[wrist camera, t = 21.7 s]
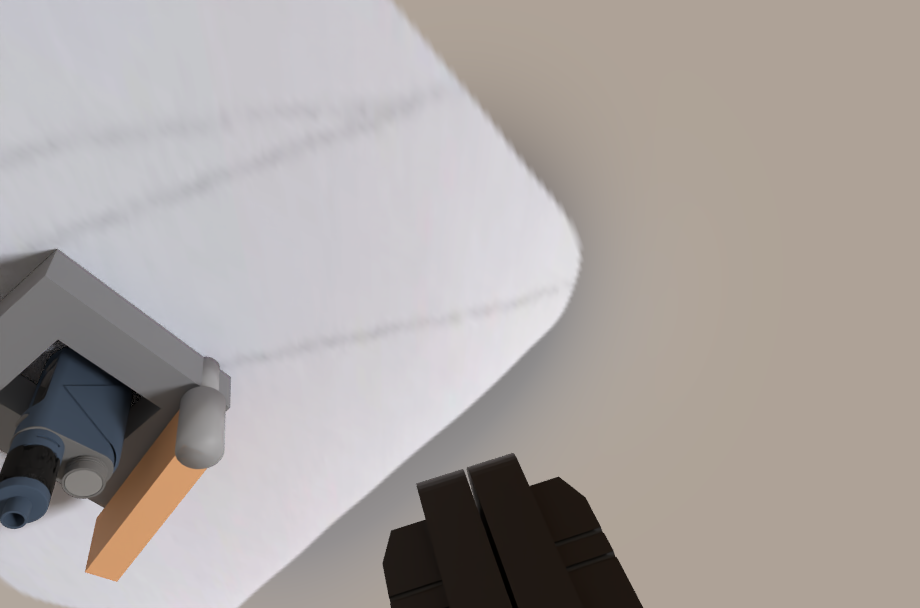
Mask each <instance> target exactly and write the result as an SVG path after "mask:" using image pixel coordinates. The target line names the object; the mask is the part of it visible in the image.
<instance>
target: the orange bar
mask: <svg viewBox="0 0 920 608" xmlns="http://www.w3.org/2000/svg"><path fill="white" fill-rule="evenodd" d="M225 411H226V401H225V398H224V396H223V395H222V393H221V392H220V391H218V390H216V389H214V388H212V387H207V386H200V387H195V388H192V389H190V390H188V391H187V392H186V393H185V394H184V395H183V396H182V398H181V401H180V409H179V410H178V412H177V413H176V414H175V416H174V417H173V418H172V420H171V421H170V422H169V423H168V425H167V426H166V427H165V429H164V430H163V431H162V433H161V434H160V435H159V437H158V438H157V439H156V441H155V442H154V443H153V445H152V446H151V447H150V449H149V450H148V451H147V452H146V454H145V455H144V456H143V458H142V459H141V460H140V462H139V463H138V464H137V466H136V467H135V468H134V470H133V471H132V472H131V474H130V475H129V476H128V478H127V479H126V480H125V481H124V483H123V484H122V485H121V487H120V488H119V489H118V491H117V492H116V493H115V495H114V496H113V497H112V499H111V500H110V501H109V503H108V504H107V505H106V507H105V508H104V509H103V510H102V512H101V513H100V514H99V516H98V517H97V519H96V524H95V528H94V533H93V537H92V542H91V547H90V551H89V556H88V561H87V565H86V570H85V572H87V573H90V574H93V575H97V576H100V577H103V578H106V579H110V580H113V581H116V582H117V581H118V580H119V578H120V577H121V576H122V575H123V573H124V572H125V571H126V570H127V568H128V567H129V566H130V565H131V563H132V562H133V561H134V560H135V558H136V557H137V556H138V555H139V553H140V552H141V551H142V550H143V548H144V547H145V546H146V544H147V543H148V542H149V541H150V539H151V538H152V537H153V536H154V534H155V533H156V532H157V531H158V529H159V528H160V527H161V526H162V524H163V523H164V522H165V521H166V519H167V518H168V517H169V516H170V514H171V513H172V512H173V510H174V509H175V508H176V507H177V505H178V504H179V503H180V502H181V500H182V499H183V498H184V497H185V495H186V494H187V493H188V492H189V490H190V489H191V488H192V487H193V485H194V484H195V483H196V482H197V480H198V479H199V478H200V477H201V475H202V474H203V473H204V471H205V470H206V469H207V468H209V467H212V466H214V465H215V464H217V463H218V462H219V461H220V460H221V459H222V457H223V455H224V443H225Z"/></svg>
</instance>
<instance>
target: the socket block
mask: <svg viewBox="0 0 920 608" xmlns="http://www.w3.org/2000/svg"><path fill="white" fill-rule="evenodd" d="M57 340H59V341H61V342H62V343H64V344H65V345H67V346H68V347H70V348H71V349H73V350H74V351H76V352H77V353H79V354H80V355H82V356H83V357H85V358H86V359H88V360H89V361H91V362H92V363H94V364H95V365H97V366H98V367H100V368H101V369H103V370H104V371H106V372H107V373H109V374H110V375H112V376H113V377H115V378H116V379H118V380H119V381H121V382H122V383H124V384H125V385H127V386H128V387H130V388H131V389H133V390H134V391H136V392H137V393H139V394H140V395H142V396H143V397H142V398H141V399H140V400H139V401H138V402H136V403H135V404H134V405H133V406H132V407H131V408H130V412H129V417H128V422H127V427H126V432H125V437H124V442H123V447H122V452H121V457H120V461H119V465H118V467H117V469H116V470H115V472H114V473H113V474H112V476H111V478H110V479H109V480H108V481H107V482H106V484H105V488H104V490H103V491H102V492H101V493H100V494H98V495H97V496H95V497H91V498H88V499H89V500H91V501H93V502H95V503H97V504H98V505H100V506H102V507H104V508H105V507H106V505H107V504H108V503H109V501H110V500H111V499H112V497H113V496H114V495H115V493H116V492H117V491H118V489H119V488H120V487H121V485H122V484H123V483H124V481H125V480H126V479H127V478H128V476H129V475H130V474H131V472H132V471H133V470H134V468H135V467H136V466H137V464H138V463H139V462H140V460H141V459H142V458H143V456H144V455H145V454H146V452H147V451H148V450H149V449H150V447H151V446H152V445H153V443H154V442H155V441H156V439H157V438H158V437H159V435H160V434H161V433H162V431H163V430H164V429H165V427H166V426H167V425H168V423H169V422H170V421H171V420H172V418H173V417H174V416H175V414H176V413H177V412H178V410H179V409H180V401H181V398H182V396H183V395H184V394H185V393H186V392H187V391H188V390H190V389H192V388H195V387H200V386H207V387H212V388H214V389H216V390H218V391H220V392H221V393H222V395H223V396H224V398H225V401H226V411H227V410H228V409H229V408H230V390H231V377H230V376H228V375H227V374H226V373H224V372H223V371H222V370H220V366H219V363H218V362H217V361H216V360H215V359H213V358H210V357H203V356H201V355H200V354H199V353H197V352H196V351H195V350H193V349H192V348H191V347H189V346H188V345H187V344H185V343H184V342H182V341H181V340H180V339H178V338H177V337H176V336H174V335H173V334H172V333H170V332H169V331H168V330H166V329H165V328H164V327H162V326H161V325H160V324H158V323H157V322H155V321H154V320H153V319H151V318H150V317H149V316H147V315H146V314H145V313H143V312H142V311H141V310H139V309H138V308H137V307H135V306H134V305H132V304H131V303H130V302H128V301H127V300H126V299H124V298H123V297H122V296H120V295H119V294H118V293H116V292H115V291H114V290H112V289H111V288H110V287H108V286H107V285H105V284H104V283H103V282H101V281H100V280H99V279H97V278H96V277H95V276H93V275H92V274H91V273H89V272H88V271H87V270H85V269H84V268H82V267H81V266H80V265H78V264H77V263H76V262H74V261H73V260H72V259H70V258H69V257H68V256H66V255H65V254H64V253H62V252H61V251H60V250H58V249H57V250H56V251H55V252H53V253H52V254H51V255H50V256H49V257H48V258H47V259H46V260H45V261H44V262H43V263H41V264H40V265H39V266H38V267H37V268H36V269H35V270H34V271H33V272H32V273H31V274H30V275H28V276H27V277H26V278H25V279H24V280H23V281H22V282H21V283H20V284H19V285H18V286H16V287H15V288H14V289H13V290H12V291H11V292H10V293H9V294H8V295H7V296H6V297H5V298H3V299H2V300H1V301H0V450H2V451H3V452H5V453H7V454H8V451H9V445H10V441H11V439H12V437H13V435H14V433H15V430H16V426H15V425H16V423H17V421H18V420H19V419H20V417H21V416H22V414H23V413H24V412H25V411H26V410H28V408H29V406H30V403H31V400H32V398H33V395H34V393H35V390H36V387H37V385H36V384H35V383H33V382H31V381H30V380H28V379H27V378H25V377H23V376H22V375H20V373H21V372H22V371H23V370H24V369H25V368H27V367H28V366H29V365H30V364H31V363H32V362H33V361H34V360H35V359H37V358H38V357H39V356H40V355H41V354H42V353H43V352H44V351H46V350H47V349H48V348H49V347H50V346H51V345H52V344H53V343H55V342H56V341H57ZM56 481H57V482H59V483H61V481H62V480H61V479H58V478H56Z"/></svg>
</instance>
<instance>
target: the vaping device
mask: <svg viewBox="0 0 920 608" xmlns="http://www.w3.org/2000/svg"><path fill="white" fill-rule="evenodd" d="M131 402H132V391H131V388H130V387H128V386H127V385H125V384H124V383H122V382H121V381H119V380H118V379H116V378H115V377H113V376H112V375H110V374H109V373H107V372H106V371H104V370H103V369H101V368H100V367H98V366H97V365H95V364H94V363H92V362H91V361H89V360H88V359H86V358H85V357H83V356H82V355H80V354H79V353H77V352H76V351H74V350H73V349H71V348H65V347H63V349H62V350H59V351H57V352H56V353H54V354H53V355H52V356H51V357H50V358H49V359H48V361H47V362H46V365H45V370H43V371H42V374H41V377H40V379H39V382H38V385H37V387H36V390H35V393H34V395H33V398H32V400H31V403H30V406H29V408H28V410H26V411H25V412H24V413H23V414H22V416H21V417H20V419H19V420H18V421H17V423H16V425H15V426H16V430H15V433H14V435H13V437H12V439H11V441H10V445H9V451H8V454H7V457H6V459H5V462H4V464H3V467H2V470H1V472H0V521H1V523H2V525H3V526H5V527H7V528H11V529H17V528H21V527H23V526H24V525H25V524H26V523H30V522H33V521H36V520H38V519H39V518H41V517H42V516H43V515H44V514H45V513H46V511H47V509H48V506H49V502H50V499H51V495H52V492H53V489H54V485H55V482H56V478H58V479H61V480H62V481H61V485H62V488H63V490H64V491H65V492H66V493H67V494H68V495H70V496H72V497H75V498H82V499H86V498H91V497H95V496H97V495H98V494H100V493H101V492H102V491H103V490H104V488H105V484H106V482H107V481H108V480H109V479H110V478H111V476H112V474H113V473H114V472H115V470H116V469H117V467H118V465H119V461H120V457H121V452H122V447H123V442H124V437H125V432H126V427H127V422H128V417H129V412H130V407H131Z"/></svg>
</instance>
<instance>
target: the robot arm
mask: <svg viewBox="0 0 920 608" xmlns="http://www.w3.org/2000/svg"><path fill="white" fill-rule="evenodd" d="M467 472H468V477H469V481H470V485H471V489H472V492H473V495H472V492H471V489H470V486H469V483H468V481H467V478H466V475H465V472H464V470H463V469H461V470H458V471H455V472H452V473H449V474H445V475H442V476H439V477H436V478H433V479H429V480H426V481H423V482H420V483H417V489H418V493H419V496H420V500H421V504H422V508H423V511H424V515H425V519H426V520H423V521H420V522H417V523H413V524H411V525H407V526H404V527H401V528H398V529H395V530H392V531H391V533H390V537H389V541H388V545H387V549H386V552H385V556H384V560H383V569H384V574H385V579H386V584H387V589H388V594H389V599H390V602H391V603H390V605H391V608H643V606H642V605H641V603H640V601H639V599H638V597H637V595H636V593H635V591H634V589H633V587H632V585H631V583H630V582H629V580H628V578H627V576H626V574H625V572H624V570H623V568H622V566H621V564H620V562H619V561H618V559H617V557H615V555H614V552H613V549H612V547H611V545H610V543H609V542H608V540H607V538H606V536H605V534H604V533H603V532H602V529H601V526H600V524H599V522H598V521H597V519H596V517H595V515H594V513H593V511H592V510H591V507H590V505H589V503H588V501H587V500H586V498H585V497H584V496H583V495H581V494H580V493H579V492H578V491H576V490H575V489H574V488H573V487H571V486H570V485H569V484H567V483H566V482H565V481H564V480H562V479H561V478H560V477H556V478H553V479H550V480H547V481H544V482H541V483H538V484H535V485H531V486H529V484H528V482H527V480H526V478H525V475H524V473H523V471H522V469H521V467H520V464H519V462H518V460H517V458H516V456H515V454H514V453H511V454H508V455H505V456H502V457H499V458H495V459H492V460H489V461H486V462H483V463H480V464H477V465H473V466H470V467H467ZM473 497H474V498H473Z"/></svg>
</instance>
